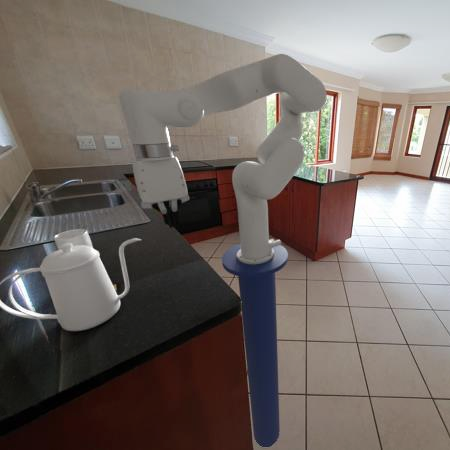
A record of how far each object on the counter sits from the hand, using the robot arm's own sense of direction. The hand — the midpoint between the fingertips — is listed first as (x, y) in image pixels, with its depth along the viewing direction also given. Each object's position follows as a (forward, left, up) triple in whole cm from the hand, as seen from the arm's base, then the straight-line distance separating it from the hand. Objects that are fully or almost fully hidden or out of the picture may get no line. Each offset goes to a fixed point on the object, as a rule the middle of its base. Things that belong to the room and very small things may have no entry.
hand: (172, 225), depth 61 cm
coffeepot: (+20, 0, -18) cm, 27 cm away
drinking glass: (+21, -18, -18) cm, 33 cm away
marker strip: (+19, -9, -18) cm, 28 cm away
